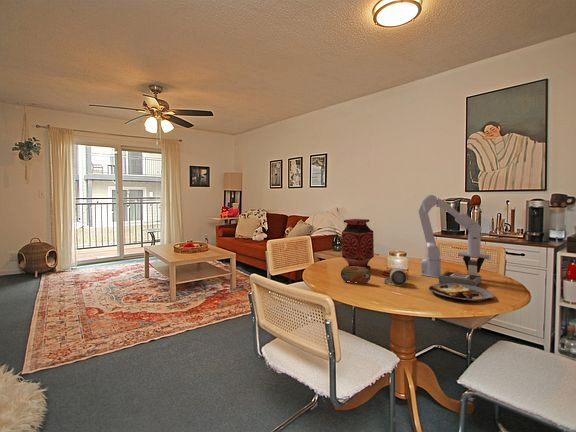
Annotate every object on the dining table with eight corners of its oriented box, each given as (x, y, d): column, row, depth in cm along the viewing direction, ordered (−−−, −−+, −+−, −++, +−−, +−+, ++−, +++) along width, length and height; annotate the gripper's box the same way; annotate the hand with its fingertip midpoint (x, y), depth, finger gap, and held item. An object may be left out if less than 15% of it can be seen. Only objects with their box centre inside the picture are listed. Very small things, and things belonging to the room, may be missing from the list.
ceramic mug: (404, 281, 163) (404, 266, 162) (407, 286, 155) (407, 270, 154) (383, 281, 165) (382, 266, 164) (384, 285, 157) (384, 270, 156)
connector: (467, 278, 166) (468, 261, 165) (470, 276, 169) (470, 259, 168) (476, 279, 163) (477, 262, 163) (478, 277, 166) (478, 260, 166)
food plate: (457, 306, 126) (457, 297, 125) (417, 290, 148) (417, 282, 148) (505, 301, 133) (506, 292, 132) (460, 286, 155) (461, 279, 155)
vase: (356, 265, 202) (355, 218, 201) (374, 269, 192) (374, 219, 190) (341, 268, 194) (341, 219, 192) (359, 272, 183) (359, 220, 181)
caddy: (438, 282, 160) (438, 275, 159) (446, 277, 168) (446, 270, 168) (474, 288, 149) (474, 280, 149) (481, 283, 157) (481, 275, 157)
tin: (340, 281, 165) (340, 265, 164) (342, 280, 167) (342, 264, 167) (370, 284, 158) (370, 268, 158) (371, 283, 161) (371, 266, 161)
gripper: (492, 246, 163) (491, 272, 164) (460, 243, 173) (460, 268, 174) (488, 247, 158) (488, 274, 159) (456, 245, 168) (456, 270, 169)
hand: (473, 271), depth 166 cm, fingers closed on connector, 4 cm apart
